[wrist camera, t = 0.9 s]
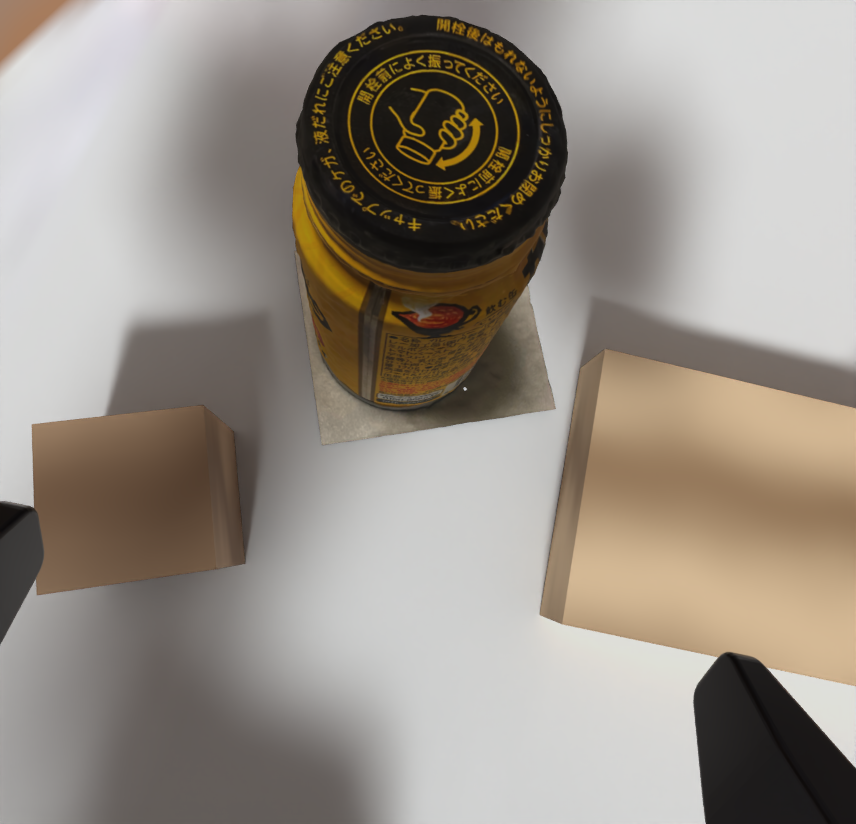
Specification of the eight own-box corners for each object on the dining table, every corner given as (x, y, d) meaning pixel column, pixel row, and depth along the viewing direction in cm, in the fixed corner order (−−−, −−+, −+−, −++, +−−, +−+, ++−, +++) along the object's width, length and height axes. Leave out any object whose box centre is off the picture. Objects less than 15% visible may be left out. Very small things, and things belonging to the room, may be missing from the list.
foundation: (918, 694, 23) (1089, 742, 18) (539, 615, 22) (597, 638, 17) (928, 450, 25) (1085, 425, 19) (580, 368, 24) (643, 318, 19)
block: (245, 563, 22) (216, 569, 17) (104, 584, 21) (36, 595, 17) (234, 431, 22) (203, 404, 18) (97, 448, 22) (31, 424, 17)
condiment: (294, 253, 24) (232, -25, 12) (514, 228, 25) (653, -48, 13) (322, 446, 22) (282, 344, 11) (553, 410, 24) (743, 283, 12)
